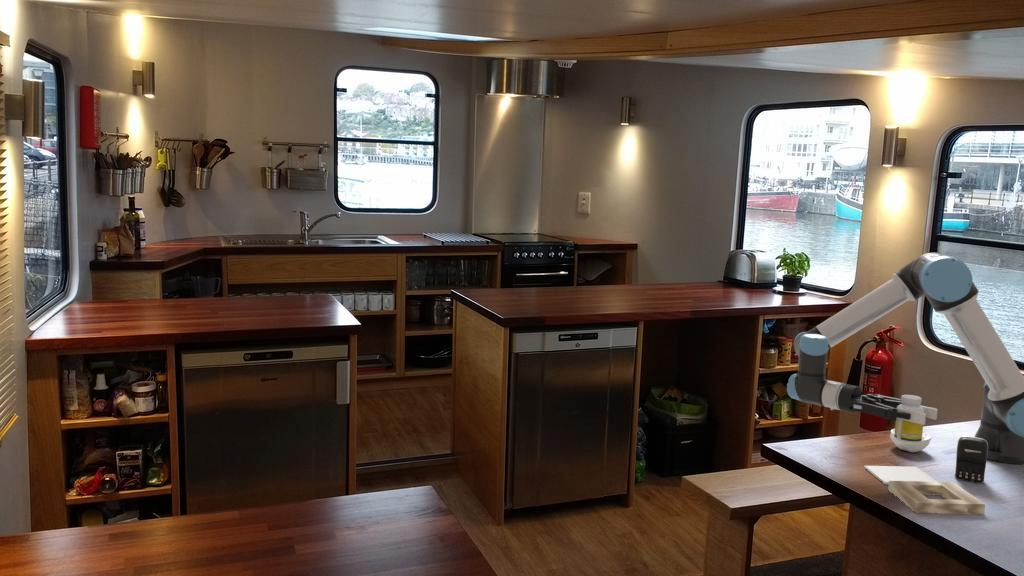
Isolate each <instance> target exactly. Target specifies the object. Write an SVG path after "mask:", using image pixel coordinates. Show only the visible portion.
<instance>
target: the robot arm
mask: <svg viewBox="0 0 1024 576" xmlns="http://www.w3.org/2000/svg"><path fill="white" fill-rule="evenodd" d="M979 294H980V293H979V289H978V287H977V286H976V284H975V283H974V281H973V275H972V272H971V270H970V268H969V267H968V265H967V264H966V262H963V260H961V259H959V258H957V257H956V256H952V255H948V254H943V253H941V252H929V253H928V252H927V253H923V254H922V255H920V256H918V257H916V258H915V259H913V260H912V261H910V262H909V263H907V264H906V265H904V266H903V267H901V268H900V269H897V271H896V272H894V273H893V274H892V277H891V279H889V280H888V281H886V282H885V283H883V284H881V285H880V286H878V287H876V288H875V289H874V290H871V292H869V293H867V294H865V295H863V297H861V298H858V299H857V300H856V301H854V302H853V303H851V304H849V305H848V306H846V307H845V308H843V309H842V310H840V311H838V312H837V313H836V314H833V315H832V316H830V317H828V318H827V319H826V320H824V321H822V322H821V323H819V324H817V325H816V326H814V327H813V328H812V329H810V330H808V331H802V332H799V333H798V334H797V335H796V336H795V338H794V340H793V350H794V352H795V354H796V355H797V357H798V361H797V363H798V364H797V373H793V374H792V375H790V377H789V378H788V382H787V384H786V392H787V394H788V397H790V398H791V399H793V400H797V401H799V402H802V403H807V404H812V405H817V406H821V407H825V408H829V409H830V411H834V410H838V411H842V412H845V413H848V414H849V413H850V414H856V413H857V412H858V413H864V414H868V415H871V416H875V417H877V418H878V417H879V418H883V419H886V420H891V421H892V422H896V419H897V417H898V419H901V420H905V421H909V422H914V423H918V424H922V425H923V426H925V425H926V418H927V419H931V420H937V419H938V410H939V409H938V408H935V407H930V406H925V405H921V404H920V407H922V408H923V409H924V413H920V412H915V411H911V410H906V409H902V408H899V409H898V411H897V406H898V405H900V404H902V401H901V398H897V397H893V396H892V397H891V396H886V395H882V394H879V393H875V394H872V393H871V394H870V393H866V394H864V392H863V390H862V388H861V387H860V386H858V385H852V384H847V383H844V382H839V381H835V380H831V379H830V380H829V379H827V378H826V375H827V363H828V353H829V350H830V349H831V348H833V347H834V346H836V345H838V344H839V343H841V342H842V341H844V340H846V339H848V338H850V337H851V336H852V335H855V334H856V333H857V332H859V331H860V330H862V329H864V328H865V327H867V326H869V325H870V324H872V323H874V322H875V321H877V320H879V319H880V318H882V317H883V316H885V315H887V314H888V313H890V312H892V311H893V310H895V309H896V308H898V307H900V306H901V305H903V304H905V303H906V302H908V301H911V302H916V301H917V300H919V299H920V298H922V297H924V296H925V297H926V299H927V300H928V302H929V304H930V305H931V307H932V309H933V310H934V311H935V312H936V313H938V314H942V315H944V316H945V318H946V319H947V321H948V323H949V325H950V326H951V328H952V329H953V331H954V332H955V335H956V336H957V337H958V339H959V341H960V342H961V344H962V346H963V348H964V349H965V351H966V353H967V354H968V355H969V357H970V359H971V361H972V362H973V364H974V366H975V367H976V369H977V370H978V372H979V373H980V376H982V379H983V380H984V384H983V386H982V387H983V394H982V404H981V414H980V415H981V416H980V424H979V427H978V428H977V431H976V433H975V435H974V437H976V438H981V439H984V440H986V441H987V443H988V455H987V460H990V461H995V462H1000V463H1005V464H1015V465H1016V464H1018V465H1020V464H1022V465H1023V464H1024V374H1023V373H1022V372H1021V370H1020V369H1019V367H1018V365H1017V363H1016V361H1015V360H1014V359H1013V357H1012V356H1011V354H1010V352H1009V351H1008V349H1007V348H1006V346H1005V344H1004V342H1003V341H1002V339H1001V338H1000V336H999V334H998V332H997V331H996V329H995V327H994V326H993V325H992V323H991V321H990V319H989V318H988V316H987V314H986V313H985V312H984V310H983V308H982V306H981V305H980V303H979V301H978V300H977V299H978V295H979Z"/></svg>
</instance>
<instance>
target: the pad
mask: <svg viewBox="0 0 1024 576" xmlns="http://www.w3.org/2000/svg"><path fill="white" fill-rule="evenodd" d="M863 466H864V467H863V468H864V469H865V470H866V469H867V470H866V471H868V472H869V473H870V474H872V475H873V477H875V478H876V479H878V481H880V482H881V481H882V482H883V483H882V482H881V483H882V484H883V485H889V481H927V482H938V481H937V480H935V479H934V478H933V477H932V476H930V475H928V474H927V473H925V472H924V471H922V469H920V468H919V467H917V466H904V465H903V466H901V465H900V466H896V465H893V466H892V465H890V466H889V465H863Z"/></svg>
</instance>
